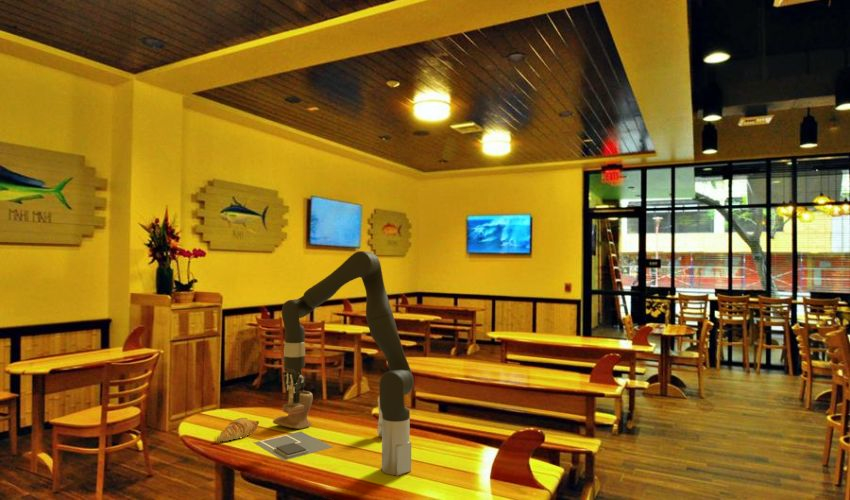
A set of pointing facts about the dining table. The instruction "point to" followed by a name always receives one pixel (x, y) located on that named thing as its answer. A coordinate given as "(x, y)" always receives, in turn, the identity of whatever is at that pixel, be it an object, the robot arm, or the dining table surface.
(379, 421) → the plastic bottle
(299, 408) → the stamp
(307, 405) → the tan boot
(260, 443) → the desk board
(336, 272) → the robot arm
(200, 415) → the dining table surface
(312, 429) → the dining table surface
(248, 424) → the croissant
